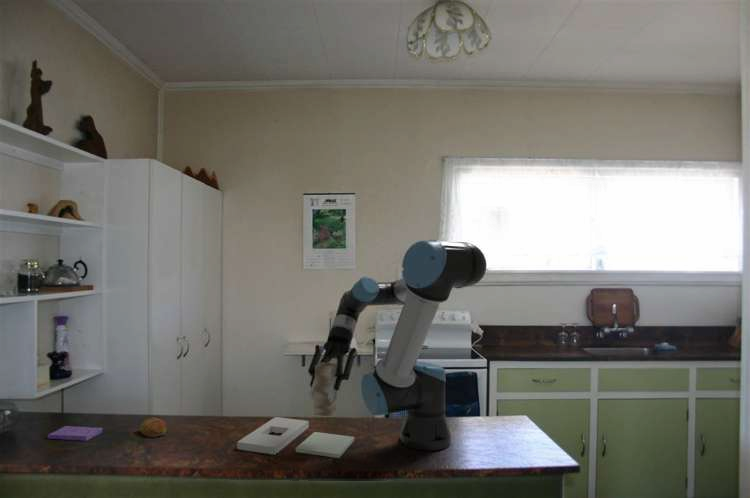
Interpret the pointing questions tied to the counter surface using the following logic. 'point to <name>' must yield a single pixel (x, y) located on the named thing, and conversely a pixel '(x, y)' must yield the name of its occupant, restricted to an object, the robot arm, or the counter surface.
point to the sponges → (75, 433)
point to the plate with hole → (273, 443)
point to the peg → (324, 389)
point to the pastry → (153, 427)
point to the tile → (325, 444)
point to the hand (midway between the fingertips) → (320, 398)
